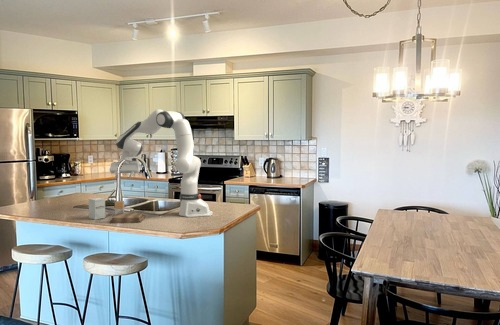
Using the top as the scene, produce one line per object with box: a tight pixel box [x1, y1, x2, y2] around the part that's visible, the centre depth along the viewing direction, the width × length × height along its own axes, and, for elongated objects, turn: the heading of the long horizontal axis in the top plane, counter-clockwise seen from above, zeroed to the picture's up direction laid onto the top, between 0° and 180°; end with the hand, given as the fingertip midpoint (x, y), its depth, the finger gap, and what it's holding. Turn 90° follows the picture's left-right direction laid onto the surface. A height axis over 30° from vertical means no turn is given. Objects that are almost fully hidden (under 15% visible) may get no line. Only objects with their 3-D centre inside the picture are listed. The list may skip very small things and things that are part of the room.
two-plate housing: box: [114, 200, 125, 216], centre depth 247 cm, size 5×4×9 cm
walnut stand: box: [109, 212, 146, 224], centre depth 234 cm, size 18×16×3 cm
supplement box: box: [88, 197, 106, 220], centre depth 238 cm, size 7×7×13 cm
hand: (123, 177), depth 258 cm, fingers open, 8 cm apart
